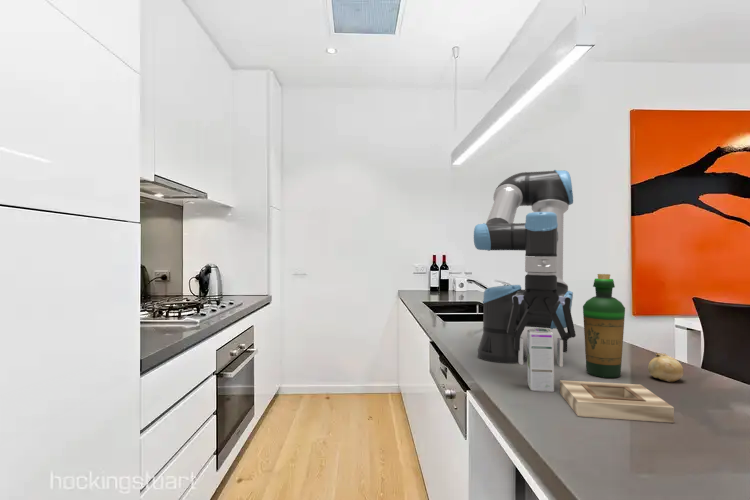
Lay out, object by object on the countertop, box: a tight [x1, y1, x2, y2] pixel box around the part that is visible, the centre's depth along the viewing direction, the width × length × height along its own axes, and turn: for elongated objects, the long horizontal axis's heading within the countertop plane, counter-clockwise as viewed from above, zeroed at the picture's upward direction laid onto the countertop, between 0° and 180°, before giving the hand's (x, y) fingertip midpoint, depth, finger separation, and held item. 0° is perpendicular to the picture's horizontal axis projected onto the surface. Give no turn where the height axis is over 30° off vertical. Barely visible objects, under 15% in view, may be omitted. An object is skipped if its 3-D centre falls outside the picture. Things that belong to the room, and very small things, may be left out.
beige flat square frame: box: [559, 379, 675, 424], centre depth 99 cm, size 16×18×3 cm
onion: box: [647, 352, 685, 383], centre depth 121 cm, size 8×8×7 cm
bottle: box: [582, 273, 626, 379], centre depth 125 cm, size 11×11×28 cm
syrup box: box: [526, 327, 555, 393], centre depth 112 cm, size 6×6×14 cm
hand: (540, 364), depth 112 cm, fingers open, 9 cm apart
